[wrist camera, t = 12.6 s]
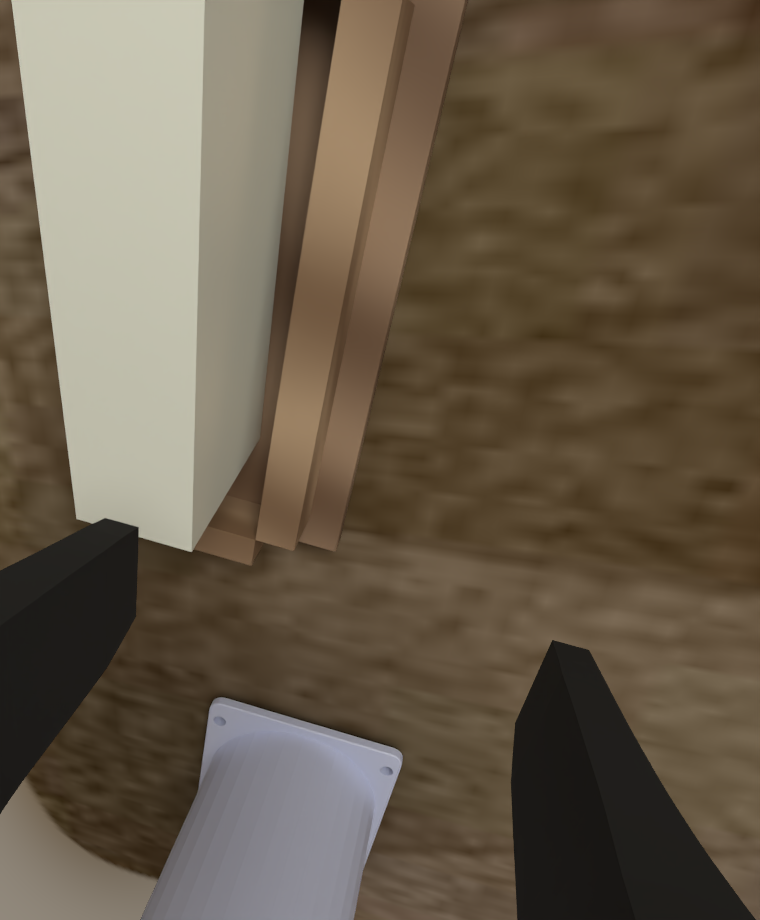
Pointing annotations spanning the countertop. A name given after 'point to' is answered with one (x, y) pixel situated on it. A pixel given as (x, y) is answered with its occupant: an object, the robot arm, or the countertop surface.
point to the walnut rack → (338, 260)
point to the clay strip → (159, 238)
